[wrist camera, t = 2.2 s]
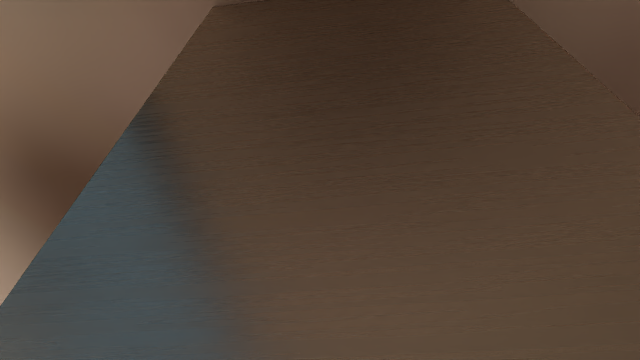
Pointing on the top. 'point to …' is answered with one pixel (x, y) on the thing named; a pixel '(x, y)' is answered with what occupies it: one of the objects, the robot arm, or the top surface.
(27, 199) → the top surface
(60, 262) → the block
